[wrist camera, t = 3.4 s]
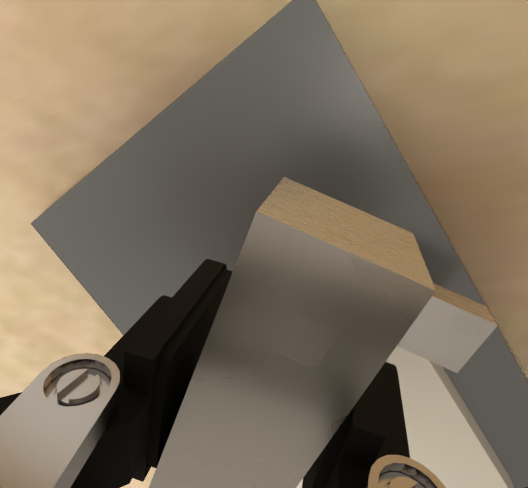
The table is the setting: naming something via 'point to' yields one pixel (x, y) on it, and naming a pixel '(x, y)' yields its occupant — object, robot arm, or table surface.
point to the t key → (307, 340)
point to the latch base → (265, 194)
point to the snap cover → (443, 427)
